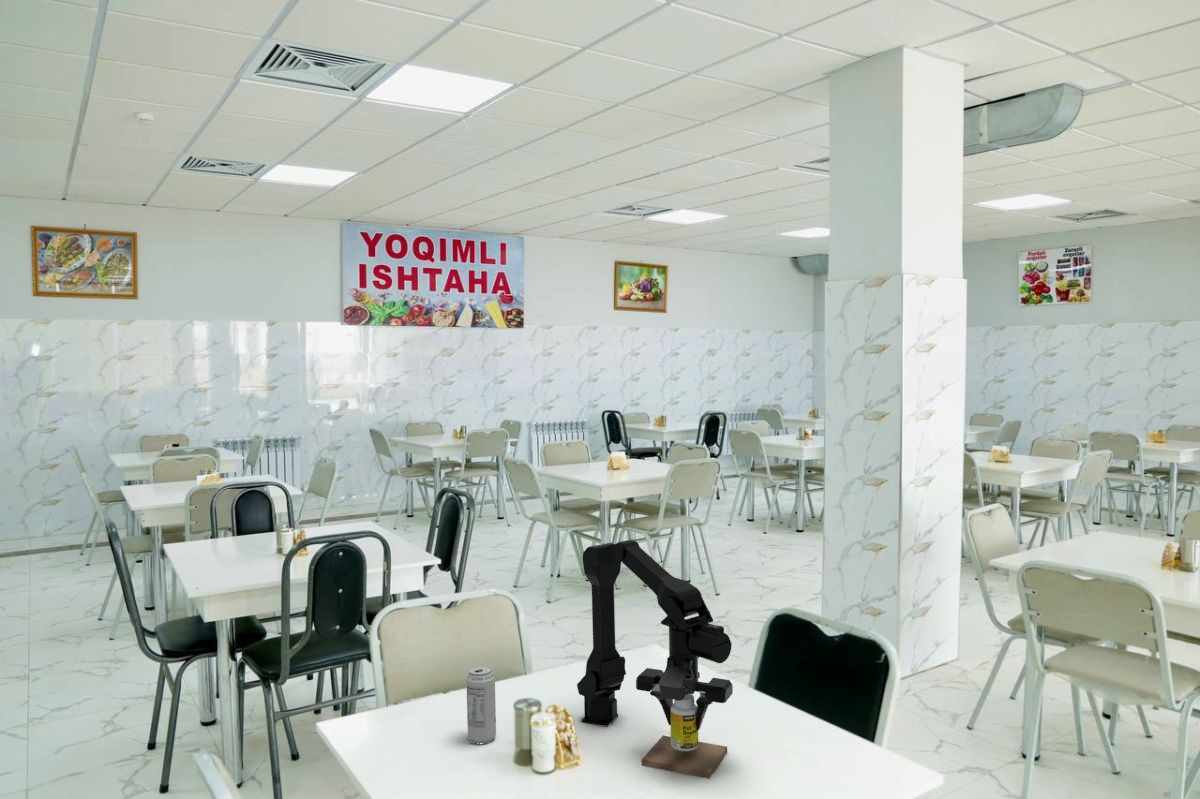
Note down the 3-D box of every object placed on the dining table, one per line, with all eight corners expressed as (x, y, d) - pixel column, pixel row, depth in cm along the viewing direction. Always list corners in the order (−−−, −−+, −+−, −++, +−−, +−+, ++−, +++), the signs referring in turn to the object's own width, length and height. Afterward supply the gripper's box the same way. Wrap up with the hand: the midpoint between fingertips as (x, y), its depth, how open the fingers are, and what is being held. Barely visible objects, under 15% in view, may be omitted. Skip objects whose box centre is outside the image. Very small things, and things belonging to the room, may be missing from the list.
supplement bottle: (682, 755, 166) (681, 704, 166) (665, 745, 171) (664, 695, 171) (704, 747, 169) (703, 697, 169) (686, 738, 174) (686, 689, 174)
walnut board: (641, 765, 168) (641, 759, 168) (663, 741, 179) (662, 735, 179) (709, 778, 162) (709, 772, 162) (727, 752, 173) (727, 746, 173)
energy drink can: (502, 738, 181) (500, 669, 181) (480, 748, 177) (478, 677, 176) (484, 730, 185) (482, 663, 185) (462, 739, 181) (460, 670, 180)
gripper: (624, 656, 166) (625, 735, 167) (716, 669, 158) (717, 751, 159) (645, 639, 176) (646, 713, 177) (733, 651, 168) (733, 728, 169)
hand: (684, 726), depth 170 cm, fingers closed on supplement bottle, 5 cm apart
